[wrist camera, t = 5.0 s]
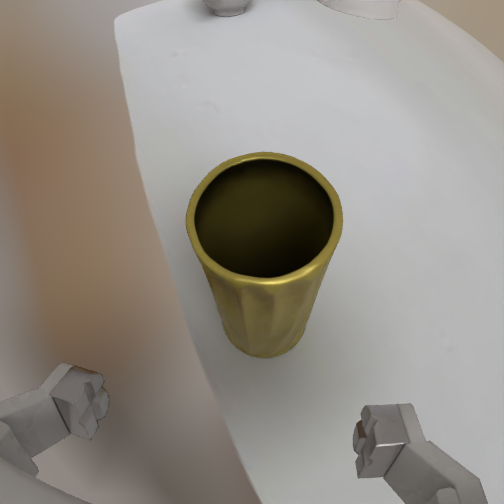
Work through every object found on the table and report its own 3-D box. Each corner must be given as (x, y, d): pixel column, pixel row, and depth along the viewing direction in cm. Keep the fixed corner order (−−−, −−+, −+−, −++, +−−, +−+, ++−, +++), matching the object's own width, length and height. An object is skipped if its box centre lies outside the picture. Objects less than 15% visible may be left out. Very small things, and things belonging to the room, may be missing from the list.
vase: (214, 348, 22) (147, 279, 10) (233, 271, 25) (202, 134, 12) (298, 365, 22) (349, 317, 9) (311, 285, 24) (359, 156, 11)
